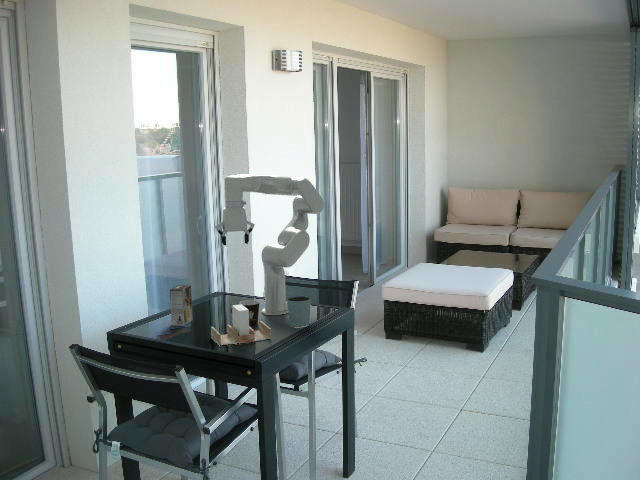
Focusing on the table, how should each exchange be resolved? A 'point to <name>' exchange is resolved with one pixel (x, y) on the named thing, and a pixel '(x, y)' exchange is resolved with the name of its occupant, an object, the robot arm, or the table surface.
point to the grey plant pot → (299, 310)
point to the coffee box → (181, 305)
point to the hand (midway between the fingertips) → (235, 244)
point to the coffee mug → (251, 311)
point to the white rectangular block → (240, 319)
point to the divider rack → (234, 338)
